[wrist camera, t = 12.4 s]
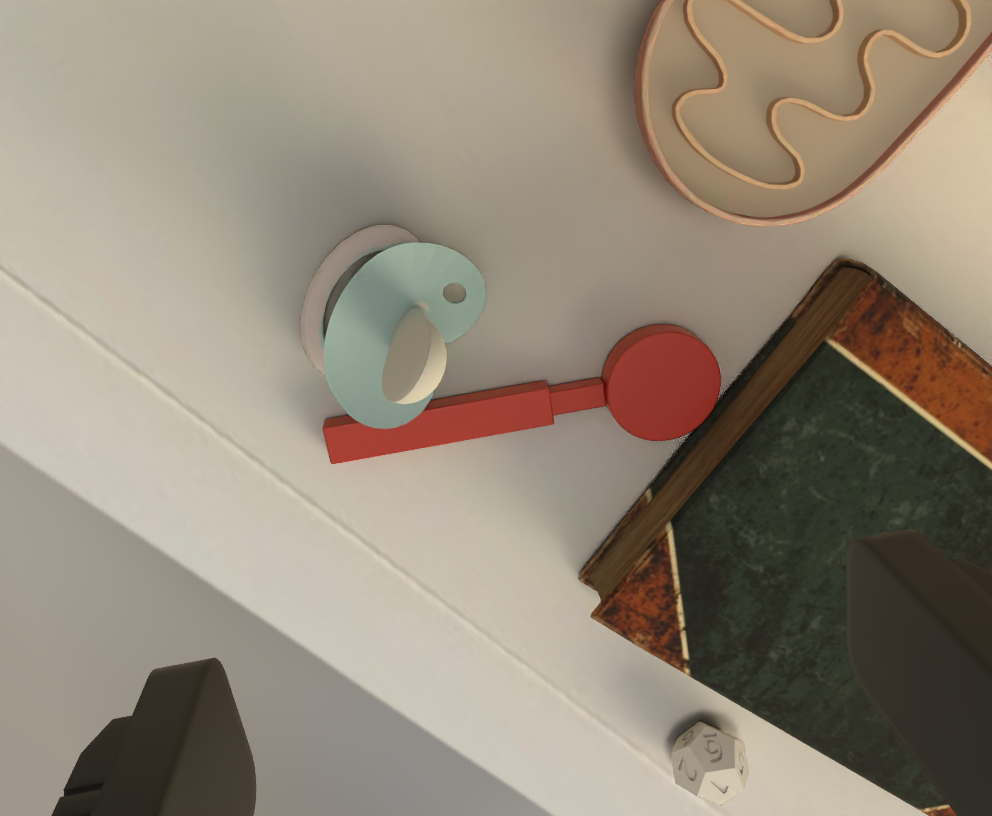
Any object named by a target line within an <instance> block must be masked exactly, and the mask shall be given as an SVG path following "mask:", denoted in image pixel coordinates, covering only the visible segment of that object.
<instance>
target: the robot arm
mask: <svg viewBox="0 0 992 816" xmlns="http://www.w3.org/2000/svg"><path fill="white" fill-rule="evenodd" d="M847 644H848V651H849V656H850V660H851V663H852V666H853V669H854V672H855V675H856V677H857V679H858V681H859V683H860V685H861V687H862V689H863V690H864V692H865V693H866V694H867V696H868V697H869V699H870V700H871V701H872V703H873V704H874V705H875V707H876V708H877V709H878V711H879V712H880V713H881V715H882V716H883V717H884V719H885V720H886V721H887V723H888V724H889V725H890V727H891V728H892V729H893V731H894V732H895V733H896V735H897V736H898V737H899V739H900V740H901V742H902V743H903V744H904V746H905V747H906V748H907V750H908V751H909V752H910V754H911V755H912V756H913V758H914V759H915V760H916V762H917V763H918V764H919V766H920V767H921V768H922V770H923V771H924V772H925V774H926V775H927V776H928V778H929V779H930V780H931V782H932V783H933V785H934V786H935V787H936V789H937V790H938V791H939V793H940V794H941V795H942V797H943V798H944V799H945V801H946V802H947V803H948V805H949V806H950V807H951V809H952V810H953V811H954V813H955V814H956V815H957V816H992V571H990V570H987V569H985V568H983V567H981V566H978V565H976V564H974V563H972V562H970V561H967V560H961V561H956V562H952V561H951V560H950V559H949V558H948V557H946V556H945V555H944V554H943V553H942V552H941V551H940V550H939V549H937V548H936V547H935V546H934V545H933V544H932V543H931V542H930V541H928V540H927V539H926V538H925V537H924V536H923V535H922V534H920V533H919V532H918V531H916V530H914V529H907V530H902V531H897V532H891V533H886V534H881V535H875V536H870V537H865V538H859V539H854V540H852V541H851V542H850V544H849V546H848V549H847ZM255 803H256V775H255V767H254V761H253V757H252V753H251V750H250V747H249V744H248V740H247V738H246V734H245V731H244V728H243V725H242V722H241V719H240V716H239V713H238V709H237V706H236V703H235V700H234V697H233V694H232V691H231V688H230V685H229V682H228V679H227V676H226V673H225V670H224V668H223V666H222V664H221V662H220V661H219V660H218V659H216V658H211V659H205V660H200V661H195V662H190V663H184V664H179V665H173V666H168V667H163V668H157V669H154V670H153V671H152V672H151V673H150V675H149V677H148V679H147V681H146V684H145V686H144V688H143V691H142V694H141V696H140V698H139V700H138V703H137V705H136V708H135V710H134V712H133V715H132V716H127V717H122V718H117V719H113V720H112V721H111V722H110V723H109V724H108V725H107V726H106V727H105V728H104V729H103V730H102V731H101V733H99V735H98V736H97V737H96V738H95V739H94V740H93V741H92V742H91V743H90V744H89V745H88V746H87V748H86V749H85V750H84V751H83V752H82V753H81V755H80V756H79V759H78V761H77V763H76V765H75V767H74V769H73V771H72V773H71V775H70V778H69V780H68V782H67V784H66V786H65V788H64V797H60V799H59V801H58V803H57V805H56V807H55V809H54V812H53V814H52V816H253V815H254V810H255Z"/></svg>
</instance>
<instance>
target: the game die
mask: <svg viewBox="0 0 992 816" xmlns="http://www.w3.org/2000/svg"><path fill="white" fill-rule="evenodd" d="M671 759H672V765H673V771H674V777H675V783H676V784H678V785H680V786H681V787H683V788H685V789H686V790H688V791H690V792H691V793H693V794H695V795H696V796H699V797H701V798H703V799H706V800H708V801H711V802H713V803H716V804H718V805H722V804H723V803H725V802H726V801H727V800H729V799H730V798H732V797H733V796H734V795H736V794H737V793H738V792H740V791H741V790H742V789H744V786H745V783H746V780H747V776H748V773H749V769H748V763H747V758H746V752H745V747H744V742H743V741H741V740H739V739H737V738H735V737H733V736H731V735H729V734H727V733H725V732H723V731H721V730H719V729H716V728H714V727H712V726H709V725H707V724H705V723H702V722H700V721H699V722H698V723H696V724H695V725H694V726H692V727H691V728H690V729H688V730H687V731H686V732H684V733H683V734H682V735H680V736H679V737H678V738H677V740H676V742H675V744H674V747H673V749H672V751H671Z"/></svg>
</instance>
